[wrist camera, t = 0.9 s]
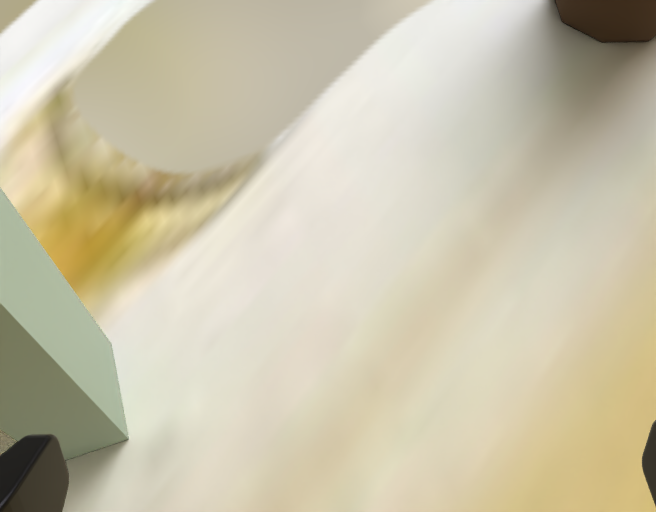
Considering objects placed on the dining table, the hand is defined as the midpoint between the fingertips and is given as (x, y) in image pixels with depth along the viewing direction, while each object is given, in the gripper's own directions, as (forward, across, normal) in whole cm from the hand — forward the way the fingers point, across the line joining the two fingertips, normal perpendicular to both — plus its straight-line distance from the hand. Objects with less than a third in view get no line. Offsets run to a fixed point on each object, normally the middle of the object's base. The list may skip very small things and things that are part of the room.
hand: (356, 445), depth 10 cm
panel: (+13, +10, +11) cm, 20 cm away
